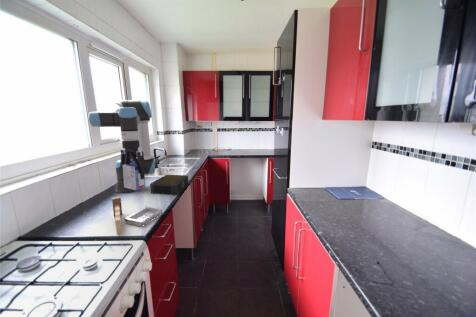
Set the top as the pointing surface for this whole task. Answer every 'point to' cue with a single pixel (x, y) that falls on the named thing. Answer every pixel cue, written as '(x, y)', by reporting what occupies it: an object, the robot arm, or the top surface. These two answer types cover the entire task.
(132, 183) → the ink cartridge box
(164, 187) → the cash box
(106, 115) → the robot arm
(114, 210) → the door edge board
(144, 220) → the index tray
